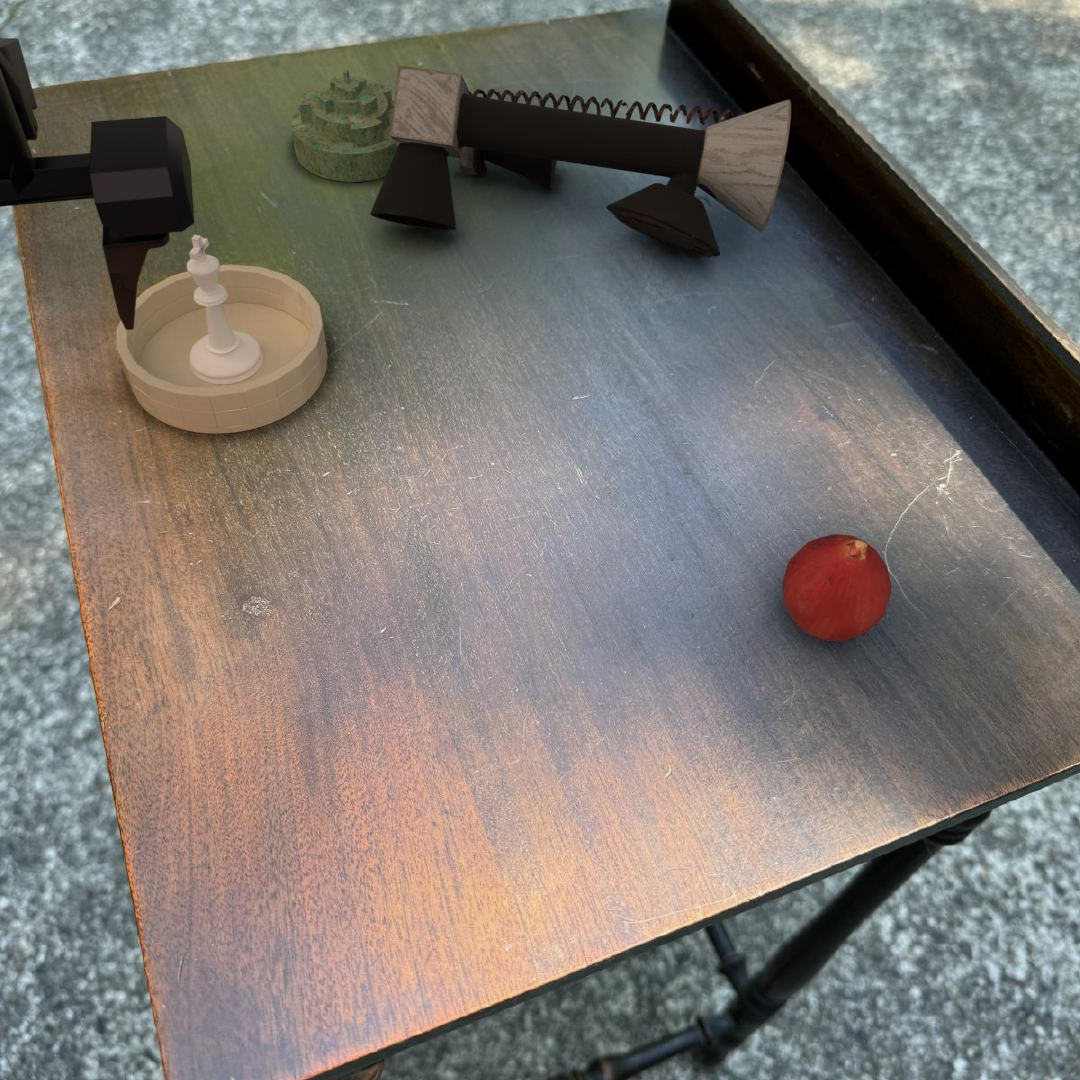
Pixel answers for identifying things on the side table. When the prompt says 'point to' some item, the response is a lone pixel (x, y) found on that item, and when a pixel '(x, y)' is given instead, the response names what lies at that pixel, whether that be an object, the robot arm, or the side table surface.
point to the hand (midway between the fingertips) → (37, 335)
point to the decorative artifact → (345, 130)
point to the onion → (836, 587)
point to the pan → (251, 307)
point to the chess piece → (218, 327)
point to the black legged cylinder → (581, 155)
